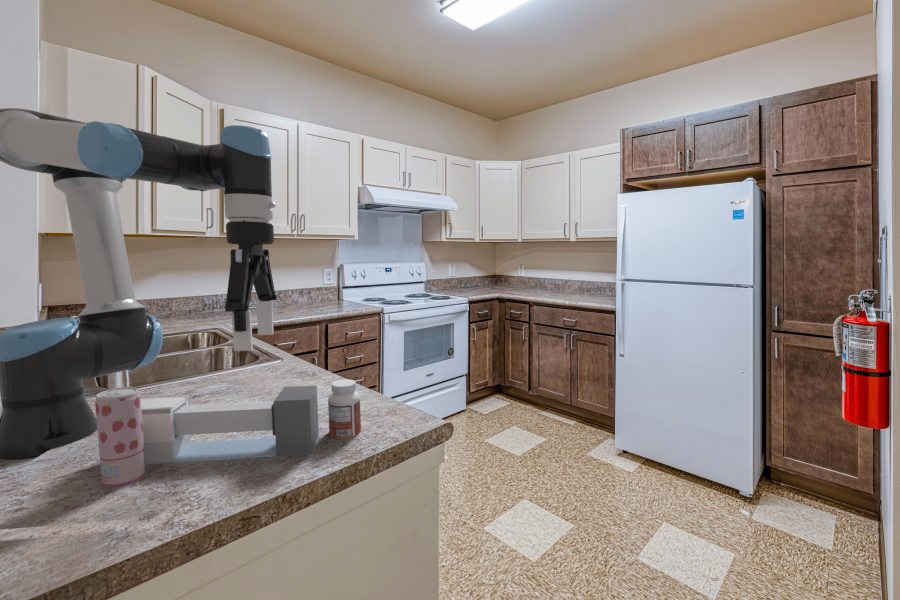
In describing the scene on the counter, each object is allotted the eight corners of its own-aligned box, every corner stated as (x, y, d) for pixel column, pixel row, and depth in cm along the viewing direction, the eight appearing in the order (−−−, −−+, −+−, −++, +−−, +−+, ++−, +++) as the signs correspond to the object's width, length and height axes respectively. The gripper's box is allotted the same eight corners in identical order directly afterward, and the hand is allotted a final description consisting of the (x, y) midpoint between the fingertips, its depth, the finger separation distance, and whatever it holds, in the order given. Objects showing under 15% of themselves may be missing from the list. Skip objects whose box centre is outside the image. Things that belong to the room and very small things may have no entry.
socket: (276, 456, 77) (273, 401, 76) (286, 437, 85) (284, 386, 84) (311, 453, 78) (309, 399, 77) (318, 435, 86) (316, 385, 85)
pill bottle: (349, 427, 92) (348, 376, 91) (367, 436, 88) (366, 382, 87) (323, 436, 87) (321, 382, 86) (340, 446, 83) (338, 389, 82)
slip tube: (156, 441, 75) (153, 411, 75) (171, 429, 81) (169, 400, 80) (301, 433, 79) (299, 404, 78) (306, 422, 84) (305, 394, 83)
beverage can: (93, 489, 68) (84, 396, 66) (128, 472, 74) (121, 385, 72) (121, 495, 67) (113, 399, 65) (155, 476, 72) (148, 388, 70)
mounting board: (114, 472, 74) (114, 466, 73) (141, 450, 81) (140, 445, 81) (311, 459, 78) (311, 453, 78) (318, 440, 86) (318, 435, 86)
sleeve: (116, 464, 74) (112, 411, 73) (138, 447, 81) (134, 398, 80) (174, 460, 75) (170, 408, 74) (191, 444, 82) (187, 395, 81)
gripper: (250, 216, 64) (257, 358, 67) (288, 225, 89) (292, 328, 91) (195, 215, 63) (204, 359, 66) (249, 225, 88) (254, 329, 90)
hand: (255, 342), depth 78 cm, fingers open, 13 cm apart
